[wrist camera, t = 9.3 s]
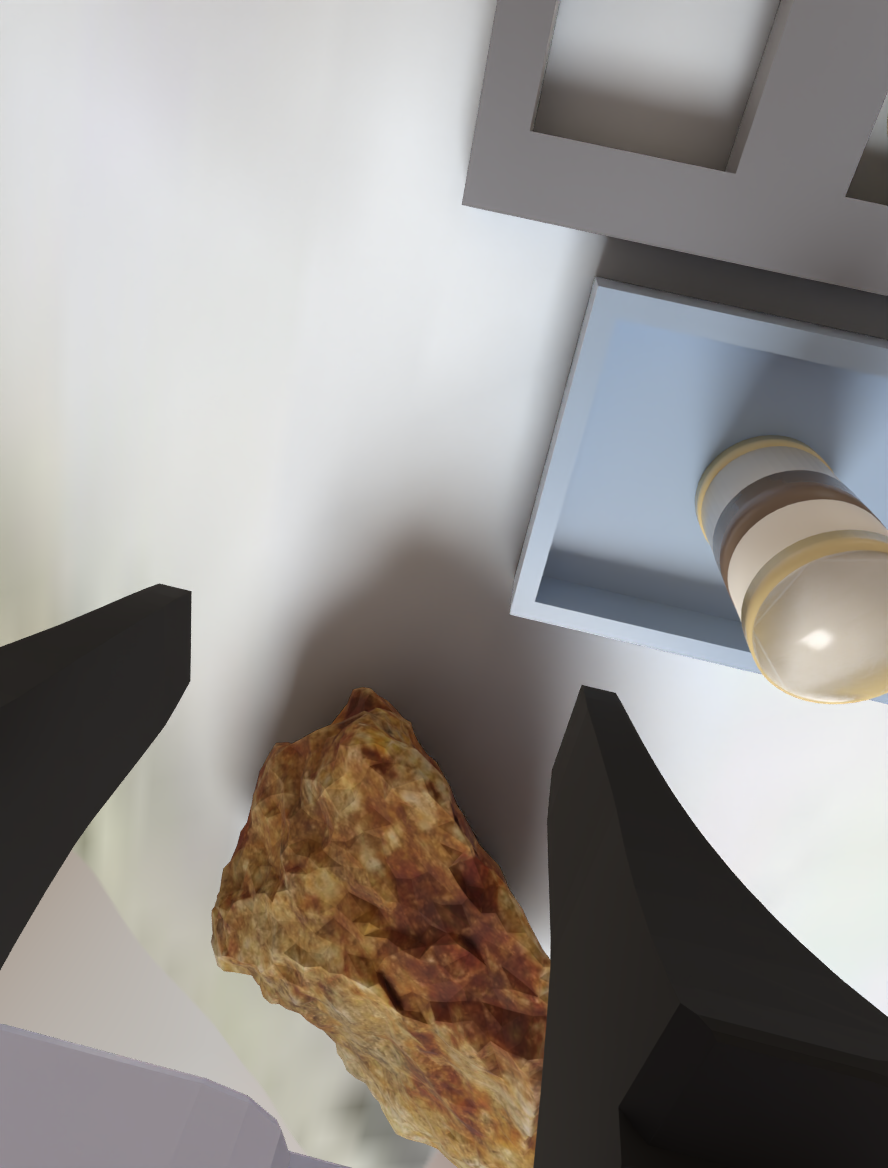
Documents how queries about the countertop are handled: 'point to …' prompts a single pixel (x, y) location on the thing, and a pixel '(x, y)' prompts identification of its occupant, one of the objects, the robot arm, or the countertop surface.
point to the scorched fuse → (800, 568)
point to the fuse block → (697, 194)
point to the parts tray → (683, 459)
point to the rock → (392, 934)
